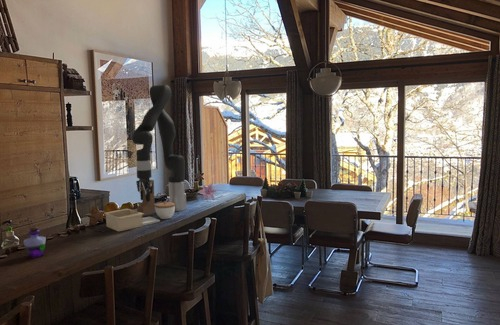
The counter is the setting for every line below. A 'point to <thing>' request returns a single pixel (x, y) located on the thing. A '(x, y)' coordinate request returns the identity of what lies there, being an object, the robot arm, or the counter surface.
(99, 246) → the counter surface
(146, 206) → the wooden block
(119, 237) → the counter surface
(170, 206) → the lidded jar
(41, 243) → the potion bottle
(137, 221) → the carton
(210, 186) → the lily
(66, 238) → the counter surface
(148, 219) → the grey tile
